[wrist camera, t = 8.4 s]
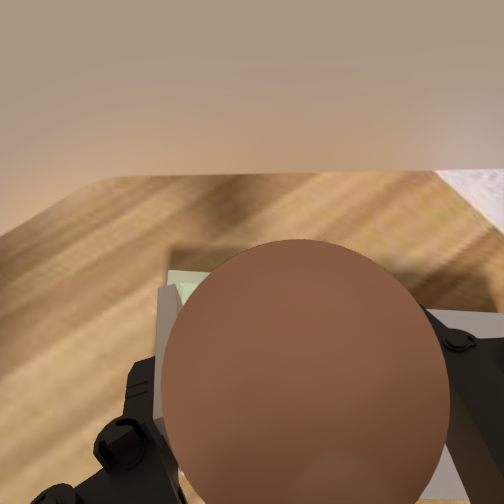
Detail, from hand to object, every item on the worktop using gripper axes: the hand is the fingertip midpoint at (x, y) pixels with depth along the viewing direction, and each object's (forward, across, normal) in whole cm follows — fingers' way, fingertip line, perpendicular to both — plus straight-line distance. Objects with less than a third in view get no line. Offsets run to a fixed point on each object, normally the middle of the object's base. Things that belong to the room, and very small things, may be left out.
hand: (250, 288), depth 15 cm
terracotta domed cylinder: (-1, 0, -4) cm, 4 cm away
